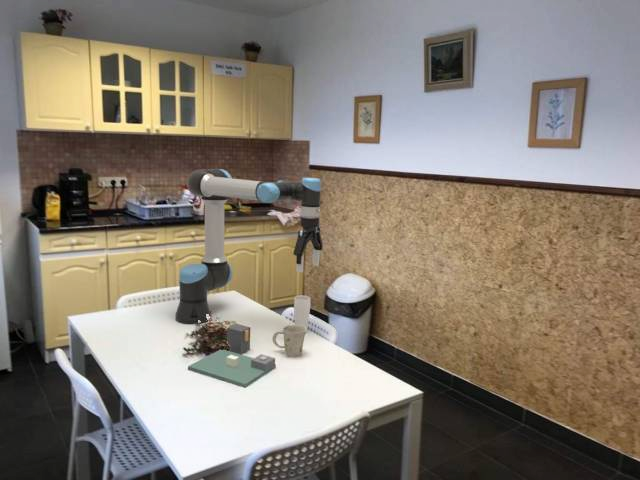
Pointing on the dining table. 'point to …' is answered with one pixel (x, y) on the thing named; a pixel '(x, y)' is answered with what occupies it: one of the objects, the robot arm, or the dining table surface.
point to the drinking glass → (302, 311)
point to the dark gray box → (238, 338)
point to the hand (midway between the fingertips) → (307, 268)
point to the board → (234, 367)
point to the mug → (291, 339)
